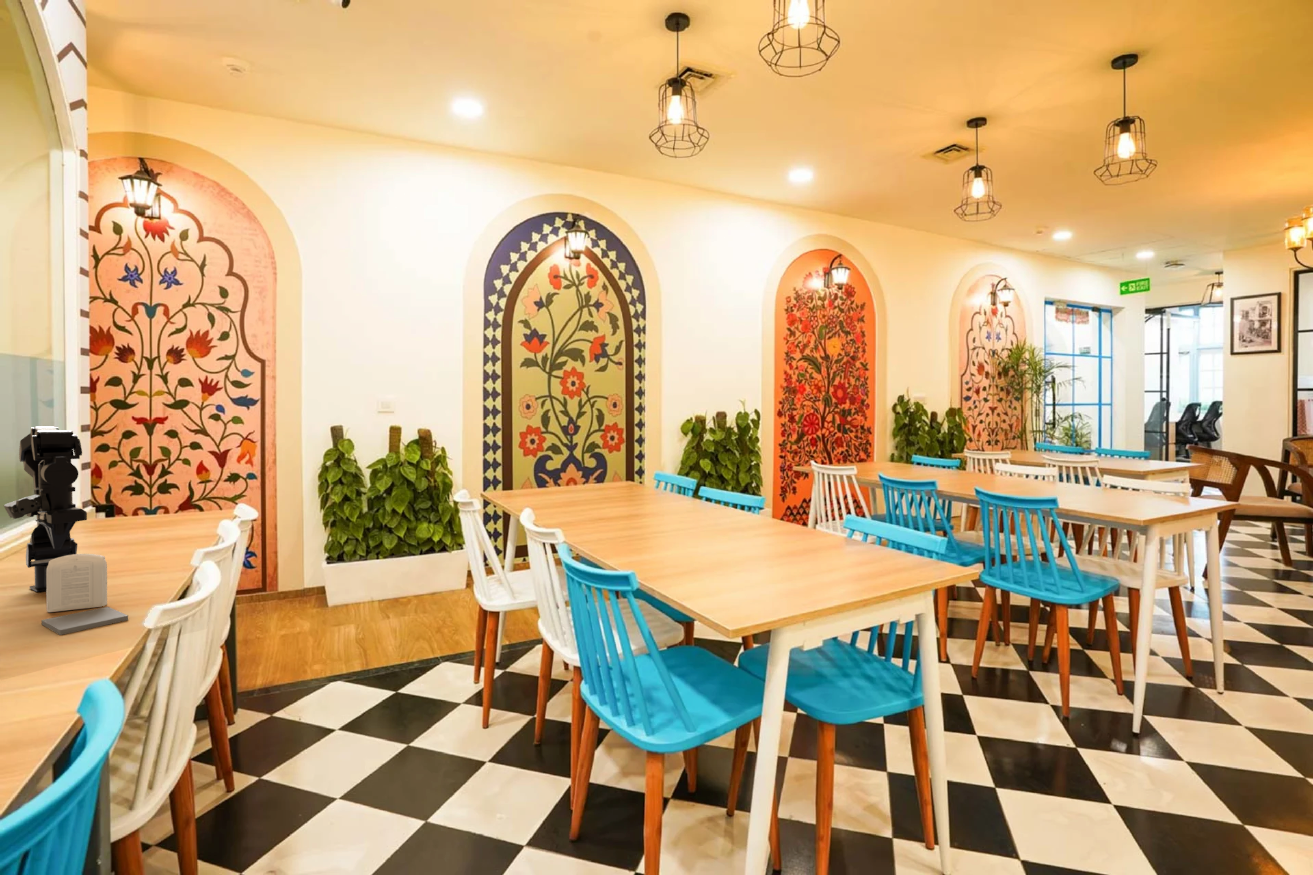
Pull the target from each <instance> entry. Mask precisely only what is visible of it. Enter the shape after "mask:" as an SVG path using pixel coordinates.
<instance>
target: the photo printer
mask: <svg viewBox="0 0 1313 875" xmlns="http://www.w3.org/2000/svg"><path fill="white" fill-rule="evenodd" d="M107 563H108V562H107V560H106V557H105V555H101V554H95V553H77V554H73V555H67V556H62V557H59V558H55V559H52V560H50V561H49V563H48V566H47V570H46V577H47V579H46V583H47V589H46V591H45V593H46V613H54V612H56V613H57V612H64V611H66V612H67V611H72V610H73V611H75V610H82V609H90V608H91V609H93V608H103V607H106V606H107V605H108V564H107ZM102 606H103V607H102Z"/></svg>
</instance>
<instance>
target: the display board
mask: <svg viewBox="0 0 1313 875" xmlns="http://www.w3.org/2000/svg"><path fill="white" fill-rule="evenodd" d="M126 620H127V621H129V615H128V614H125V613H123V612H121V611H119V610H117V609H115V608H112V607H111V606H103V607H98V608H95V609H89V610H85V611H80V612H75V613H70V614H64V615H60V616H55V617H50V618H45V619H41V625H42V626H43V627H45V628H46V629H48V628H49V630H50V631H51V632H53V633H56V634H57V635H59V636H61V635H62V636H63V635H67V634H72V633H76V632H80V631H86V630H90V629H94V628H99V627H103V626H107V625H111V624H112V623H113V624H116V623H117V624H118V623H121V622H120V621H122V622H127V621H126ZM89 628H90V629H89Z"/></svg>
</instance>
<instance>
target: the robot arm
mask: <svg viewBox="0 0 1313 875" xmlns="http://www.w3.org/2000/svg"><path fill="white" fill-rule="evenodd" d="M18 451H19V452H18V453H19V454H18V455H19V457H18V458H19V462H20V463H22V462H23V470H24V472H26V474H28V475H29V476H30V477H32V479H33V491H34V493H33V494H32V495H29V496H25V497H22V498H20V499H16V500H14V501H10V502H8V503H5V504H3V508H4V509H5V511H6V513H7V514H8V516H9V518H10V519H11V518H12V519H13V520H16V519H20V518H24V516H26V517H29V518H33V517H34V516H36V519H35V520H34V521H35V522H36V527H34V529H33V530H32V532H31V534H30V540H29V542H27V543H26V550H25V565H26V566H27V568H30V569H31V568H33V569H34V585H30V586H29V589H30V590H33V591H34V592H36V593H41V592H46V589H47V583H46V579H47V577H46V570H47V566H48V563H49V561H50V560H52V559H55V558H59V557H62V556H67V555H73V554H78V553H77V552H78V543H77V542H76V540H75V538H74V537H73V538H71V531H72V529H73V527H74V525H75V524H76V523H77V522H83V521H87V520H88V513H87V511H86V510H84V509H82V507H81V508H80V507H76V503H73V492H76V487H75V486H73V484H74V483H75V482H76V481H77V479H78V477H79V470H78V469H77V467H76V466H75V465H74V464H72V460H80V459H81V458H80V456H83V450H82V443H81V439H79V438H78V435H77V434H74V431H72V430H71V429H69V430H63V429H62V430H61V429H60V430H59V427H58V426H57V427H56V426H54V425H48V426H46V425H45V426H44V425H43V426H41V425H40V426H34V427H32V426H31V427H30V433H29V434H27V435H26V436H24V437H23V438H22V439H20V441H19V450H18Z"/></svg>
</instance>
